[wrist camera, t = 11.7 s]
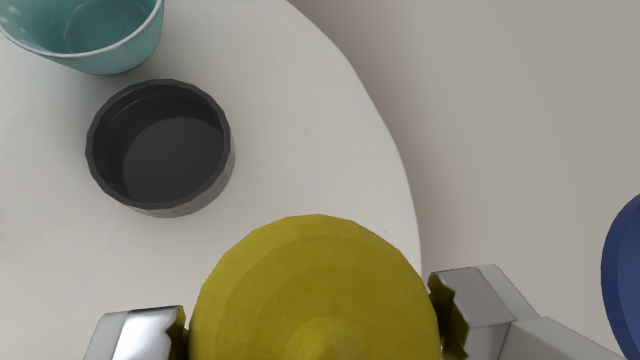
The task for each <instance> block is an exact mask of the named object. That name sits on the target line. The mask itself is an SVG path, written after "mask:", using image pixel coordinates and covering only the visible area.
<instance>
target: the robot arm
mask: <svg viewBox="0 0 640 360" xmlns="http://www.w3.org/2000/svg"><path fill="white" fill-rule="evenodd" d="M427 285H428V287H429V289H430V291H431V293H430V294H429V295H428V296H429V298H430V300H431V303H432V305H433V308H434V310H435V312H436V316H437V322H438V330H439V337H440V344H441V346H442V347H443V349H442V360H628V359H626V358H624V357H622V356H620V355H618V354H617V353H615V352H613V351H611V350H609V349H607V348H605V347H603V346H601V345H600V344H598V343H596V342H594V341H592V340H590V339H588V338H587V337H585V336H583V335H581V334H579V333H577V332H575V331H573V330H572V329H570V328H568V327H566V326H564V325H562V324H560V323H558V322H556V321H555V320H553V319H551V318H549V317H540V316H539V314H538V313H537V312H536V311H535V310H534V308H533V307H532V306H531V305H530V304H529V302H528V301H527V300H526V299H525V298H524V296H523V295H522V294H521V293H520V292H519V291H518V289H517V288H516V287H515V286H514V284H513V283H512V282H511V281H510V280H509V279H508V277H507V276H506V275H505V274H504V273H503V271H502V270H501V269H500V268H499V267H498V266H496V265H495V264H488V265H481V266H474V267H467V268H459V269H452V270H445V271H438V272H432V273H431V274H430V276H429V279H428V284H427ZM185 319H186V316H185V313H184V309H183V306H181V305H176V306H166V307H157V308H147V309H137V310H131V311H123V312H113V313H105V314H104V315H103V316H102V317H101V318H100V320H99V321H98V324H97V326H96V329H95V331H94V334H93V336H92V338H91V341H90V343H89V346H88V348H87V351H86V353H85V356H84V358H83V360H187V356H188V335H189V331H188V330H187V329H185V328H184V325H185Z"/></svg>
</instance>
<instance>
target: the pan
mask: <svg viewBox="0 0 640 360" xmlns="http://www.w3.org/2000/svg"><path fill="white" fill-rule="evenodd" d="M85 156H86V159H87V163H88V166H89V169H90V173H91V175H92V177H93V178H94V179H95V181H96V182H97V183H98V185H99V186H100V187H101V189H102V190H103V191H104V192H105V193H106V194H108V195H109V196H111V197H112V198H114V199H116V200H117V201H119V202H120V203H122V204H123V205H125V206H127V207H129V208H131V209H132V210H134V211H136V212H138V213H142V214H145V215H148V216H153V217H159V218H174V217H180V216H185V215H188V214H191V213H194V212H196V211H198V210H200V209H202V208H204V207H205V206H207V205H208V204H209V203H211V202H212V201H213V200H214V199H215V198H216V197H217V196H218V195H219V194H220V193H221V192H222V191H223V189H224V188H225V186H226V185H227V183H228V181H229V179H230V177H231V175H232V171H233V168H234V162H235V149H234V141H233V137H232V133H231V130H230V127H229V124H228V122H227V119H226V116H225V114H224V111H223V110H222V109H221V107H220V106H219V105H218V104H217V103H216V101H215V100H214V99H213V98H212V97H211V96H210V95H209V94H207V93H205V92H204V91H202V90H201V89H199V88H197V87H196V86H194V85H192V84H188V83H184V82H181V81H177V80H172V79H160V80H148V81H144V82H141V83H137V84H134V85H130V86H128V87H127V88H125V89H123V90H122V91H120V92H118V93H117V94H115V95H114V96H112V97H111V98H110V99H109V100H108V101H107V102H106V103H105V104H104V105H103V106H102V107H101V108H100V110H99V111H98V112H97V113H96V114H95V116H94V119H93V121H92V123H91V125H90V128H89V130H88V132H87V138H86V150H85Z"/></svg>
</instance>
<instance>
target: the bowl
mask: <svg viewBox="0 0 640 360" xmlns="http://www.w3.org/2000/svg"><path fill="white" fill-rule="evenodd" d="M164 1H165V0H0V31H1V32H2V33H3V34H4V35H5V36H6V37H7V38H8V39H9V40H11V41H12V42H13V43H15V44H17V45H18V46H20V47H22V48H24V49H26V50H28V51H30V52H33V53H35V54H37V55H40V56H42V57H45V58H47V59H50V60H52V61H55V62H57V63H60V64H62V65H65V66H68V67H71V68H74V69H77V70H79V71H82V72H85V73H89V74H94V75H113V74H119V73H122V72H125V71H128V70H130V69H133V68H135V67H136V66H138V65H140V64H141V63H142V62H144V61H145V60H146V59H147V58H148V57H149V56H150V55H151V54H152V53H153V51H154V50H155V48H156V46H157V44H158V42H159V39H160V35H161V29H162V21H163V13H164Z"/></svg>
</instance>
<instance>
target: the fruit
mask: <svg viewBox="0 0 640 360" xmlns="http://www.w3.org/2000/svg"><path fill="white" fill-rule="evenodd" d="M441 358H442V352H441V344H440V337H439V330H438V322H437V316H436V312H435V310H434V308H433V305H432V303H431V300H430V298H429V296H428V293H427V291H426V289H425V286H424V284H423V281H422V279H421V277H420V276H419V275H418V274H417V272H416V271H415V270H414V268H413V267H412V266H411V265H410V263H409V262H408V261H407V260H406V258H405V257H404V256H403V254H402V253H401V252H400V251H399V250H398V249H397V248H395V247H394V246H392V245H391V244H389V243H388V242H387V241H385V240H384V239H382V238H381V237H379V236H378V235H376V234H375V233H373V232H371V231H370V230H368V229H366V228H364V227H363V226H361V225H359V224H357V223H356V222H354V221H351V220H346V219H341V218H336V217H332V216H327V215H322V214H315V215H304V216H294V217H285V218H283V219H280V220H278V221H275V222H273V223H270V224H268V225H266V226H263V227H261V228H258V229H256V230H253V231H252V232H251V233H250V234H248V235H247V236H246V237H245V238H243V239H242V240H241V241H240V242H238V243H237V244H236V245H235V246H233V247H232V248H231V249H230V250H228V251H227V252H226V253H225V254H224V255H223V256H222V258H221V259H220V261H219V262H218V264H217V265H216V267H215V268H214V269H213V271H212V272H211V274H210V275H209V277H208V278H207V279H206V281H205V282H204V284H203V285H202V288H201V291H200V293H199V296H198V299H197V302H196V305H195V308H194V311H193V314H192V317H191V320H190V323H189V335H188V356H187V360H441Z"/></svg>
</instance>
